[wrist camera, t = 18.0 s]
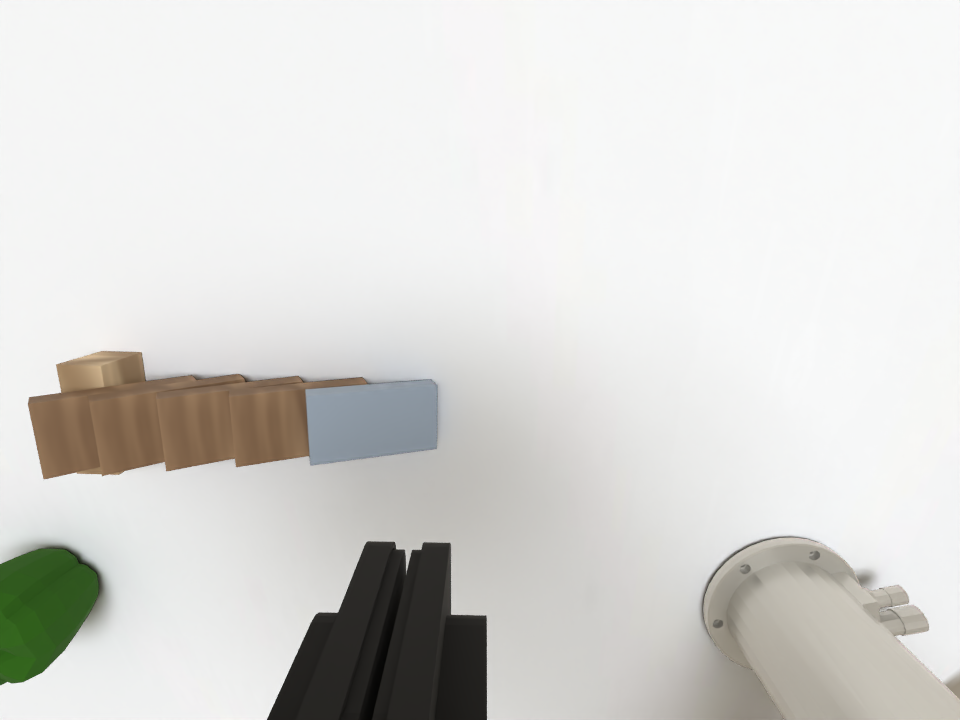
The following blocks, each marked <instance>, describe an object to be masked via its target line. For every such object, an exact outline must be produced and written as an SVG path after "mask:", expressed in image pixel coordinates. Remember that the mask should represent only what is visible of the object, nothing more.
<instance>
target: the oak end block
mask: <svg viewBox="0 0 960 720" xmlns="http://www.w3.org/2000/svg"><path fill="white" fill-rule="evenodd" d="M56 366H57V372H58V377H59V382H60V387H61V393H65V392H72V391H80V390H87V389H94V388H101V387H109V386H116V385H123V384H131V383H138V382H145V374H144V367H143V360H142V353H141V352H112V351H101V352H97V353H94V354H90V355H87V356H84V357H80V358H77V359H73V360H70V361H67V362H63V363H60V364H56ZM122 472H124V471H122ZM122 472H117V473H113V475H119V474H121V473H122ZM77 474H102V473H101V467H98V468H94V469H89V470H85V471H80V472H77Z"/></svg>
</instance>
